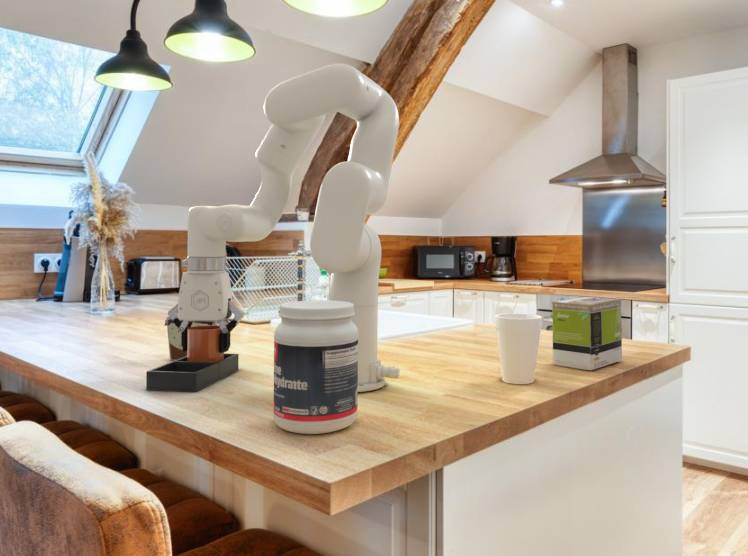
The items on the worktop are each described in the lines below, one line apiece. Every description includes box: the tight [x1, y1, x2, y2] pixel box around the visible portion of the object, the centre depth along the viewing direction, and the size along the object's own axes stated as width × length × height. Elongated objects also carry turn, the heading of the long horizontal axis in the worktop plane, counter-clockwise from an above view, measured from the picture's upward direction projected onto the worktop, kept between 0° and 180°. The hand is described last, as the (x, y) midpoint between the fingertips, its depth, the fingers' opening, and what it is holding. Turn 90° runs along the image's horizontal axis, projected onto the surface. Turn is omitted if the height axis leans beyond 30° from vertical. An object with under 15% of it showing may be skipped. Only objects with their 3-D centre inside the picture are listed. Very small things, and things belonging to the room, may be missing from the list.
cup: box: [187, 325, 225, 362], centre depth 127 cm, size 7×7×9 cm
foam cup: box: [494, 312, 543, 385], centre depth 124 cm, size 10×9×13 cm
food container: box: [164, 315, 219, 362], centre depth 144 cm, size 12×6×10 cm, turn 84°
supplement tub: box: [272, 299, 359, 435], centre depth 94 cm, size 13×13×18 cm
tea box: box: [551, 296, 623, 371], centre depth 142 cm, size 15×10×15 cm, turn 136°
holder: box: [145, 352, 239, 393], centre depth 123 cm, size 19×10×4 cm, turn 173°
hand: (205, 350), depth 128 cm, fingers closed on cup, 7 cm apart
